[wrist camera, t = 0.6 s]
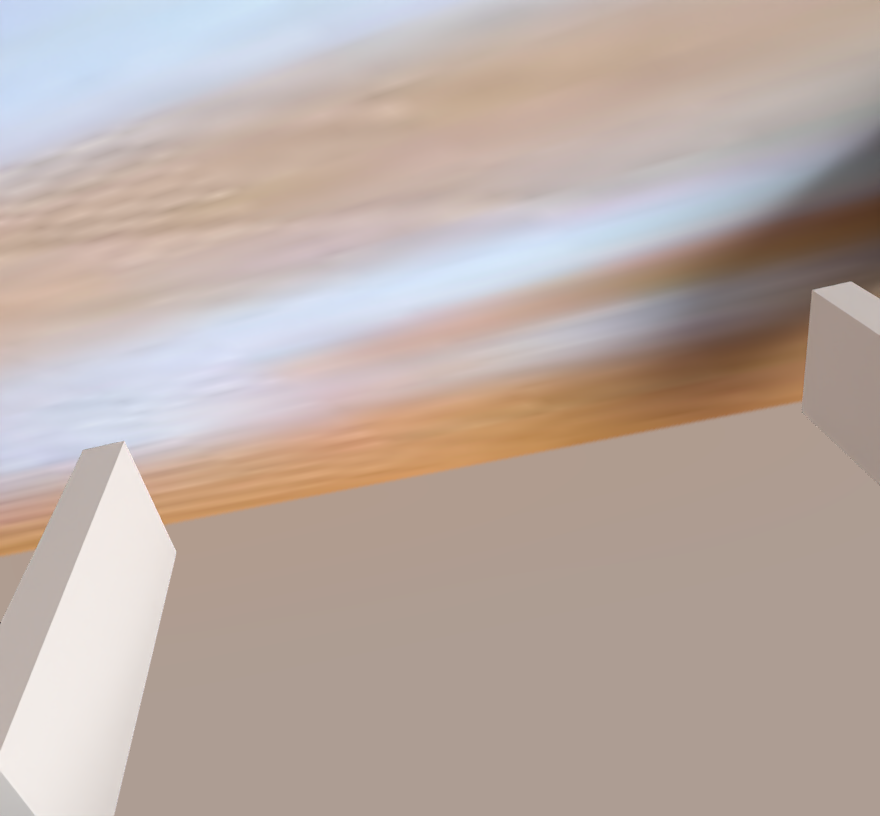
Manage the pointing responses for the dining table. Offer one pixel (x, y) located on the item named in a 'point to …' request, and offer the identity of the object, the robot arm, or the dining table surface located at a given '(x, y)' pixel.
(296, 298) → the dining table surface
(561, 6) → the dining table surface
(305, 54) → the dining table surface
